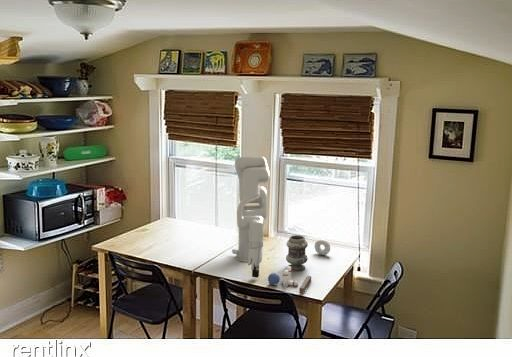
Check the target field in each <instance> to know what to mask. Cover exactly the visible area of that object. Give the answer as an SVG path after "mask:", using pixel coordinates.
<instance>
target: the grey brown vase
mask: <svg viewBox="0 0 512 357" xmlns="http://www.w3.org/2000/svg"><path fill="white" fill-rule="evenodd" d="M308 244H309V243H308V241H307V240H306V238H305V236H304V235H300V234H294V235H290V236H289V239H288V240H287V241H286V243H285V245H286V247H287V248H288V254H287V255H286V256H285V260H286V262H287V263H289V264H288V266H290V267H291V272H303V271H305V270H306V266H305V265H304V264H306V263H307V261H308V260H309V259H308V256H307V254H306V249H307V247H308Z"/></svg>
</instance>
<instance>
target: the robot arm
mask: <svg viewBox="0 0 512 357" xmlns="http://www.w3.org/2000/svg"><path fill="white" fill-rule="evenodd" d="M234 168H235V171H236V174H237V178H238V195H239V196H238V197H239V201H240V202H239V203H238V206H237V208H236V219H237V220H236V223H237V228H238V247H237V248H238V249H234V248H232V250H231V253H232V254H234V255H235V259H236V260H237V261H239V262H242V263H243V262H245V263H247V266H248V267H250V270H251V276H252V278H259V276H260V264H261V263H262V261H263V247H264V228H265V222H266V221H268V220H267V219H268V215H269V214H268V209H269V207H268V192H267V189H266V187H264V186H260V184H261V183H262V184H266V183H268V182H270V178H271V174H270V169H269V166H268V161H267V159H266V158H265V157H264V156H239V157H236V159H235V161H234ZM247 204H259V205H247Z"/></svg>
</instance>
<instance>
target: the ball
mask: <svg viewBox="0 0 512 357" xmlns="http://www.w3.org/2000/svg"><path fill="white" fill-rule="evenodd" d="M280 278H281V277H280V276H279V274H277V273H275V272H273V273H270V274H269V275H268V277H267V281H268V283H269V285H272V286H276V285H278V284H279V283H280V282H281V279H280Z"/></svg>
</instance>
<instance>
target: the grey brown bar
mask: <svg viewBox="0 0 512 357" xmlns="http://www.w3.org/2000/svg"><path fill="white" fill-rule="evenodd" d="M310 282H311V283H312V275H307V276H306V277H305V279H304V280H303V282H302V284H301V285H300V286H299V290H298V291H299V293H302V294H301V295H304V294H305V292H306V291H305V290H307V289H308V287H309V286H310V284H311V283H310ZM309 283H310V284H309ZM308 285H309V286H308ZM306 288H307V289H306ZM303 293H304V294H303Z"/></svg>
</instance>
